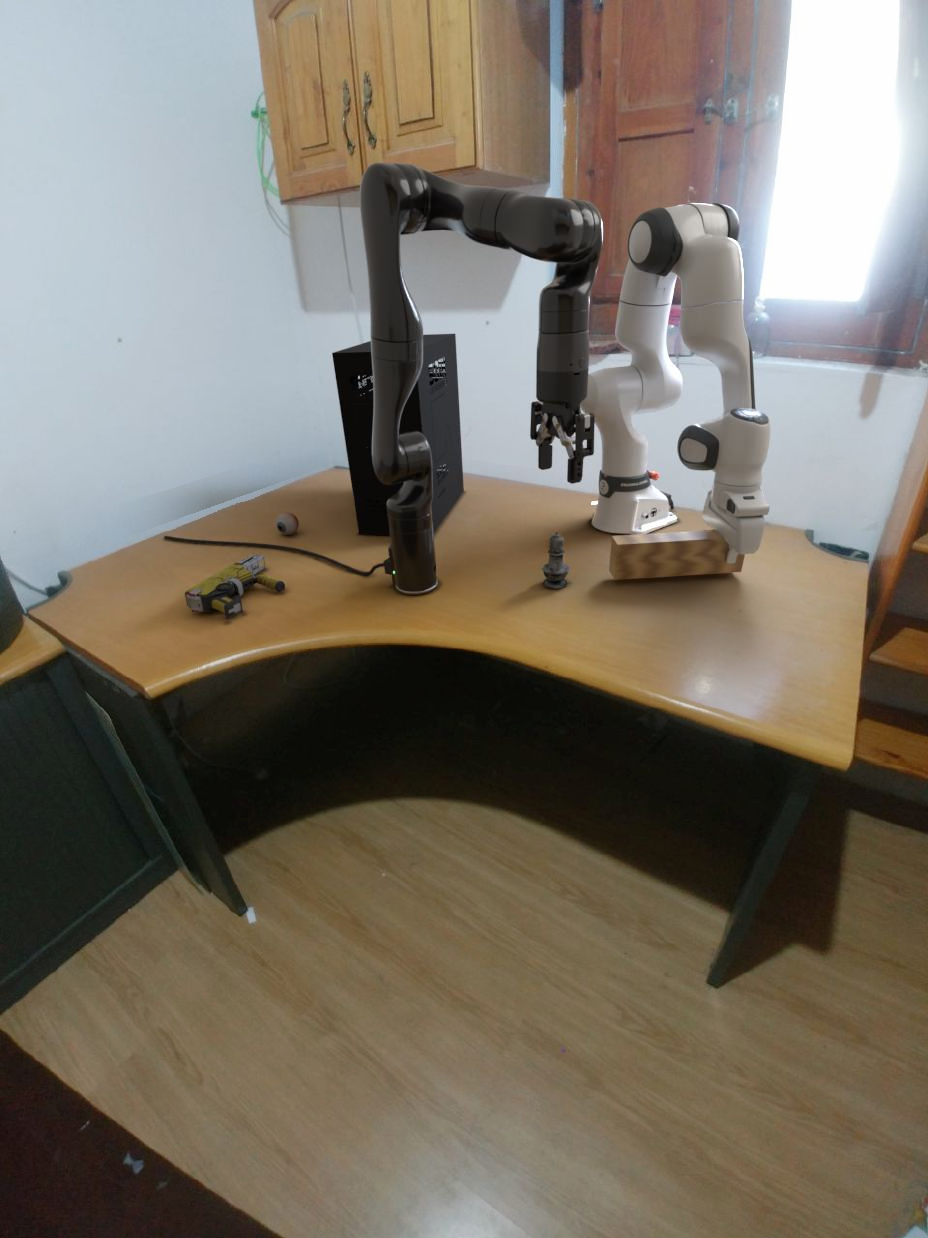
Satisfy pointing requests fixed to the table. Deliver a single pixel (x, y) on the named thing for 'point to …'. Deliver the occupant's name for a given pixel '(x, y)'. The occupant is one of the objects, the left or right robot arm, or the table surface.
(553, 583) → the weathered chess pawn
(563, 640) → the table surface
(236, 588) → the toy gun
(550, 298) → the left robot arm
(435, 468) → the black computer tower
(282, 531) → the eyeball
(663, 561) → the bar
